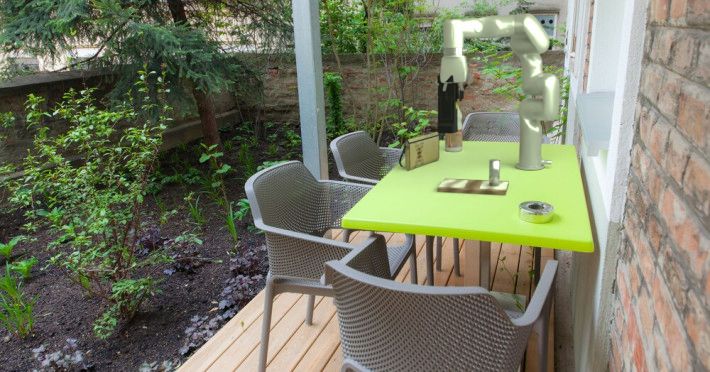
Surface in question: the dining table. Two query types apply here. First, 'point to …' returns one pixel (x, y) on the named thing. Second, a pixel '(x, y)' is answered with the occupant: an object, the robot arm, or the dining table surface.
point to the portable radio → (448, 107)
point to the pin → (494, 172)
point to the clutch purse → (420, 150)
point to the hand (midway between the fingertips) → (453, 100)
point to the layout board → (472, 187)
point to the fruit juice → (454, 137)
